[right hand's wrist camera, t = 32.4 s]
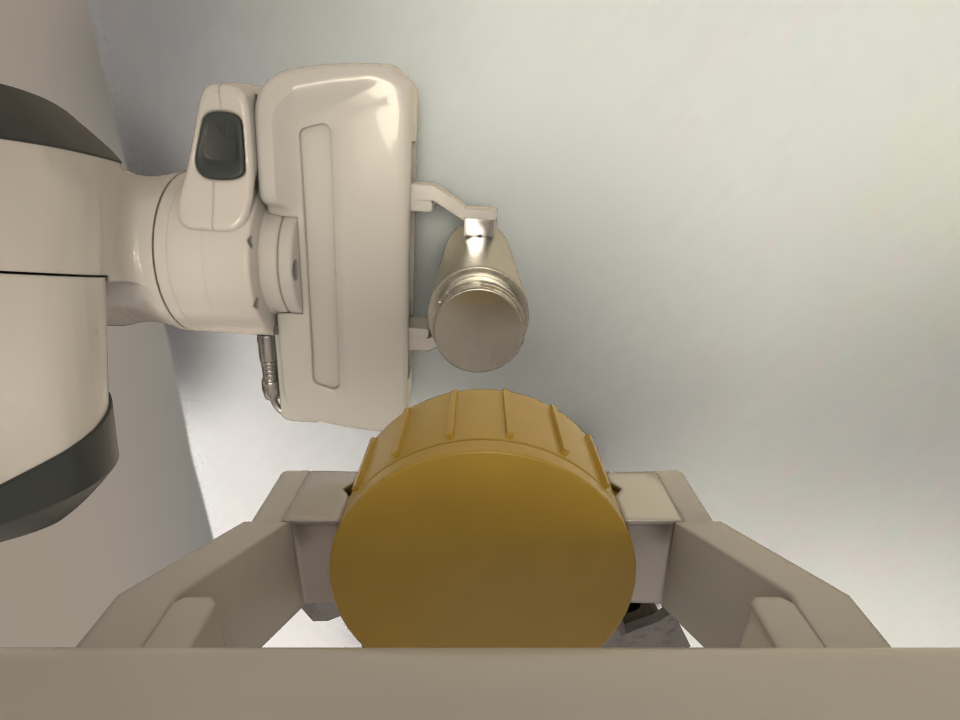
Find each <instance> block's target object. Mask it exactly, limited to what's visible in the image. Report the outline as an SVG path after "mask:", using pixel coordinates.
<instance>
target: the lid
mask: <svg viewBox="0 0 960 720" xmlns="http://www.w3.org/2000/svg"><path fill="white" fill-rule="evenodd" d="M606 473H610V472H605V469H604V466H603V464H602V461H601V459H600V456H599V454H598V451H597V449H596V446H595V443H594V441H593V438H592V436H591V435H590V434H588V435H586V434H585V433H584V432H583V431H582V430H581V429H580V428H579V427H578V426H577V425H576V424H575V423H574V422H573V421H571V420H570V419H569V418H568V417H566V416H565V415H564V414H563V413H561V412H559V411H558V410H557V407H556V406H555V405H553V404H552V405H551V406H549V405H547V404H545V403H543V402H541V401H538V400H536V399H534V398H531V397H528V396H524V395H521V394H518V393H513V392H509V390H508V389H503V391H501V390H488V389H476V390H463V391H457V390H451V393H447V394H443V395H440V396H437V397H434V398H431V399H428V400H426V401H424V402H422V403H420V404H417V405H415V406H413V407H412V408H409V406H408V407H407V408H405V409H404V411H403V413H402V414H401V415H399V416H398V417H397V418H396V419H394V420H393V421H392V422H391V423H390V424H388V425H387V426H386V427H385V429H384V430H383V431H382V432H381V433H380V434H379V435H378V436H377V438H374V437H372V438H371V440H370V442H369V445H368V447H367V450H366V452H365V455H364V458H363V460H362V463H361V466H360V468H359V471H358V474H357V476H356V479H355V481H354V484H353V487H352V492H351V494H350V496H349V500H348V502H347V505H346V508H345V510H344V513H343V516H342V518H341V521H340V524H339V526H338V529H337V532H336V534H335V537H334V541H333V544H332V548H331V551H330V561H329V578H330V586H331V591H332V595H333V599H334V602H335V604H336V607H337V609H338V612H339V614H340V616H341V617H342V619H343V621H344V622H345V624H346V626H347V628H348V629H349V630H350V631H351V633H352V634H353V635H354V636H355V638H356V639H357V640H358V641H359V642H360V643H361V644H362V645H363V646H364V647H365V648H600V647H601V646H602V645H603V644H604V643H605V642H606V641H607V640H608V639H609V638H610V636H611V635H612V634H613V633H614V631H615V630H616V629H617V627H618V626H619V624H620V623H621V621H622V619H623V617H624V616H625V614H626V612H627V610H628V607H629V604H630V602H631V599H632V596H633V591H634V586H635V581H636V559H635V551H634V547H633V544H632V540H631V537H630V534H629V531H628V529H627V526H626V523H625V521H624V518H623V516H622V513H621V510H620V508H619V505H618V503H617V500H616V496H617V494H618V492H616V491H613V490H612V487H611V485H610V482H609V479H608V477H607V474H606Z"/></svg>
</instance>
